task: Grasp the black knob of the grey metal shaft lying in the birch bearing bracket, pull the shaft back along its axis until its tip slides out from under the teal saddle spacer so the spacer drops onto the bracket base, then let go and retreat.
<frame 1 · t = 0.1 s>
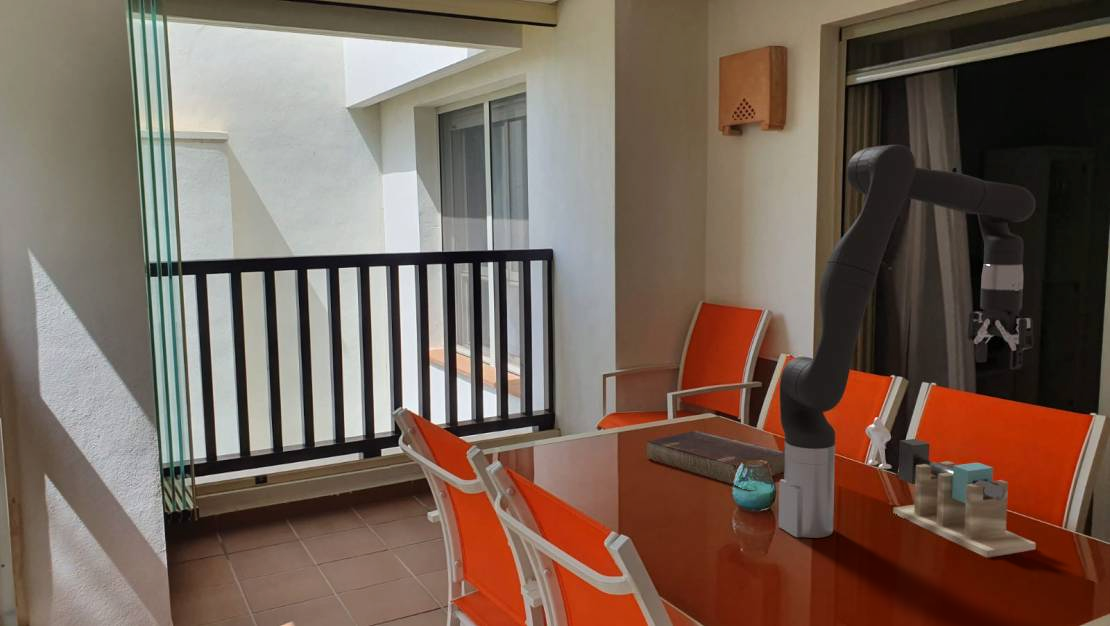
hand: (997, 365, 175), 29 cm above the table, fingers open, 8 cm apart
hardback book: (716, 466, 208), on the table
spacer: (971, 498, 160), point 7 cm above the table, touching shaft
figurine: (877, 467, 205), on the table
shaft: (950, 475, 165), point 10 cm above the table, slide at 0.0 cm, touching spacer
bracket: (960, 530, 163), on the table
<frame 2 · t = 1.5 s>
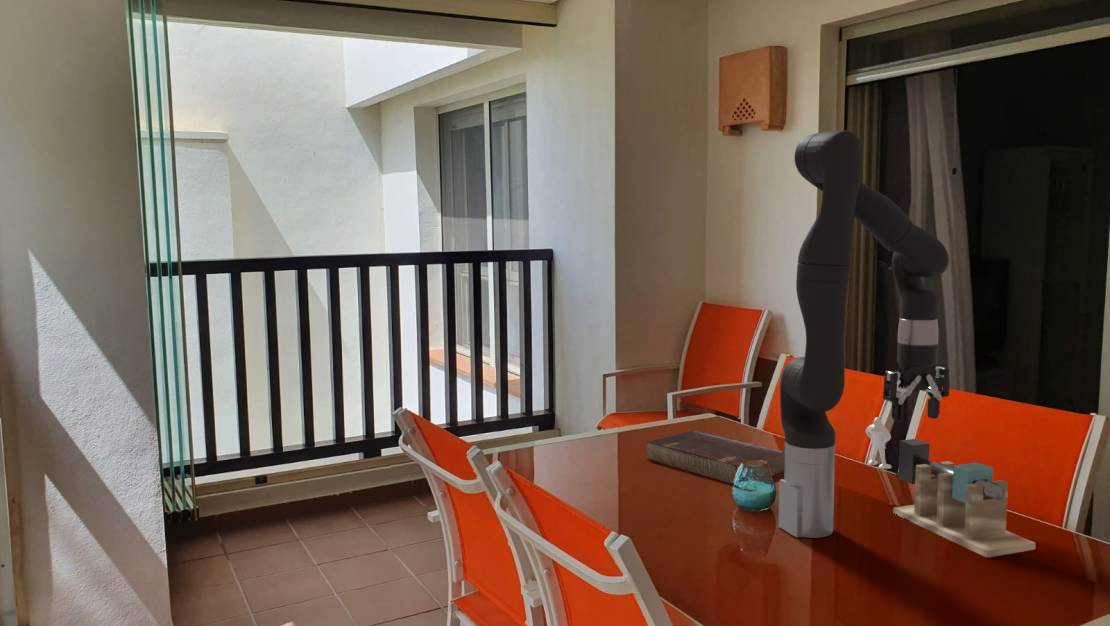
hand: (915, 419, 173), 19 cm above the table, fingers open, 8 cm apart
nothing on the table moved.
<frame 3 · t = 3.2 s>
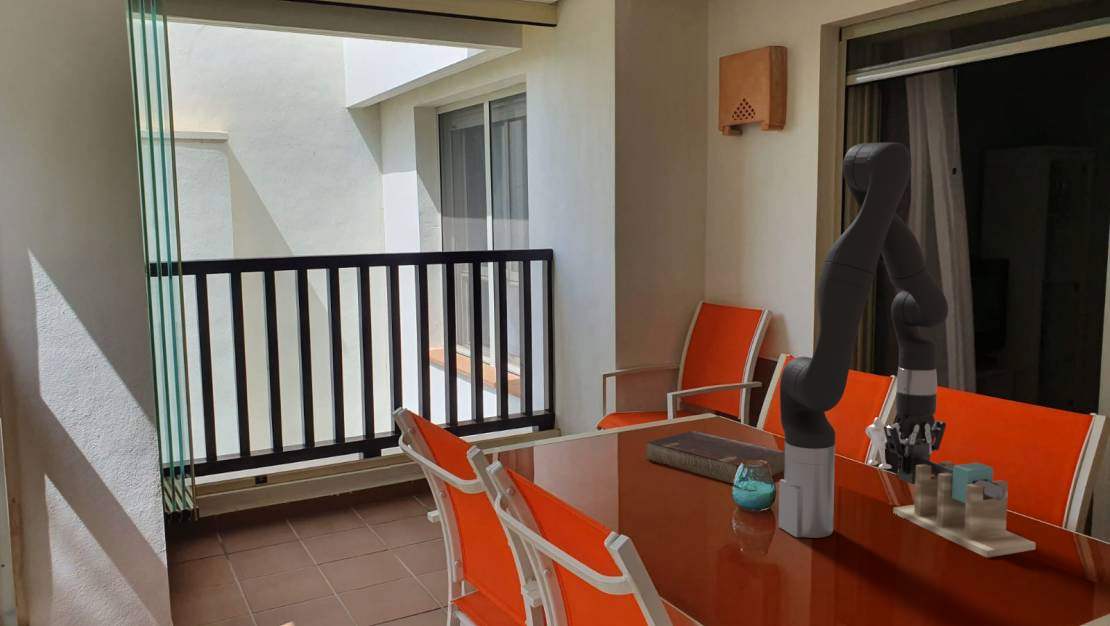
hand: (913, 471, 174), 8 cm above the table, fingers closed on shaft, 4 cm apart
shaft: (950, 475, 165), point 10 cm above the table, slide at 0.0 cm, touching gripper, spacer
everything else where it was.
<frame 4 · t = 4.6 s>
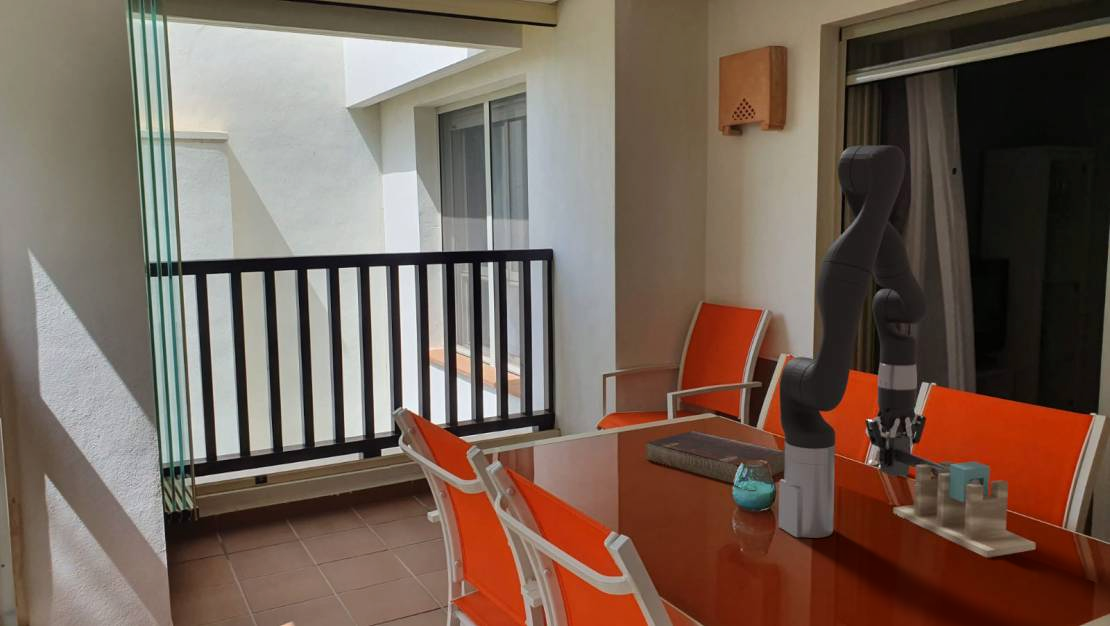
hand: (894, 464, 180), 8 cm above the table, fingers closed on shaft, 4 cm apart
shaft: (929, 467, 170), point 10 cm above the table, slide at 5.6 cm, touching gripper, spacer
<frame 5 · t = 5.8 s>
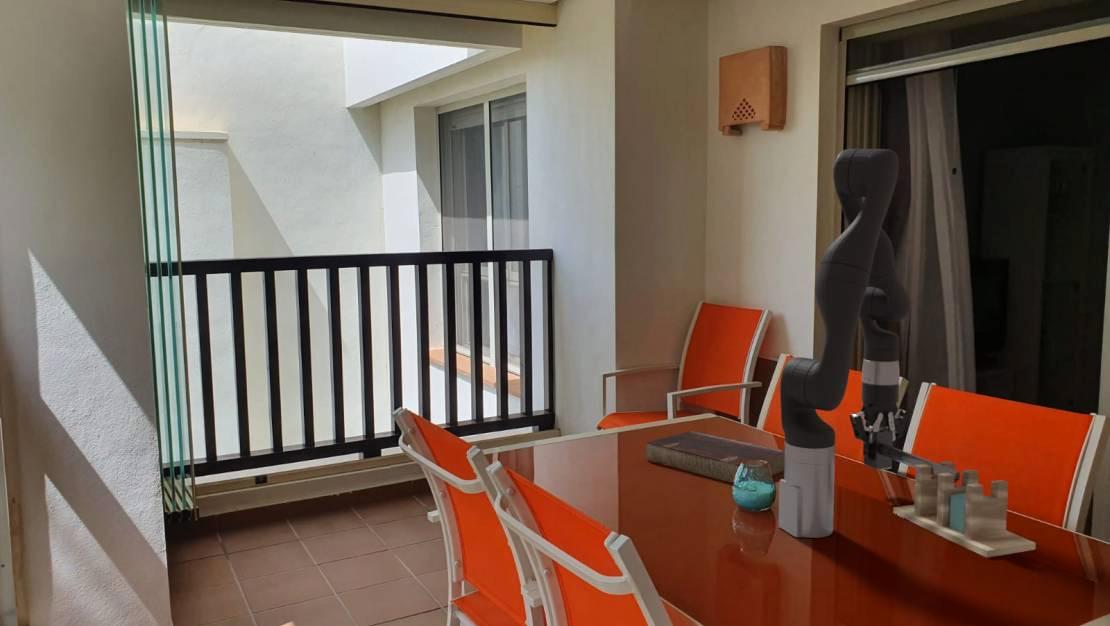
hand: (878, 457, 185), 8 cm above the table, fingers closed on shaft, 4 cm apart
spacer: (969, 528, 161), point 1 cm above the table, touching bracket
shaft: (910, 460, 175), point 10 cm above the table, slide at 10.8 cm, touching gripper
everything else where it was.
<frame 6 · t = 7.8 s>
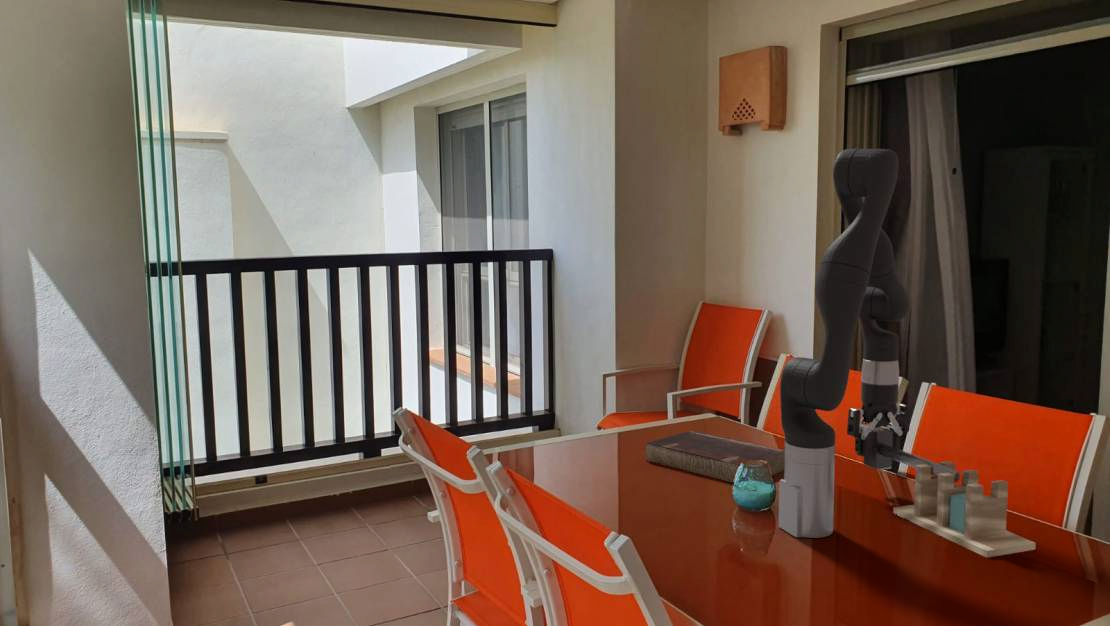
hand: (877, 453, 185), 9 cm above the table, fingers open, 8 cm apart
shaft: (910, 460, 175), point 10 cm above the table, slide at 10.9 cm
everything else where it was.
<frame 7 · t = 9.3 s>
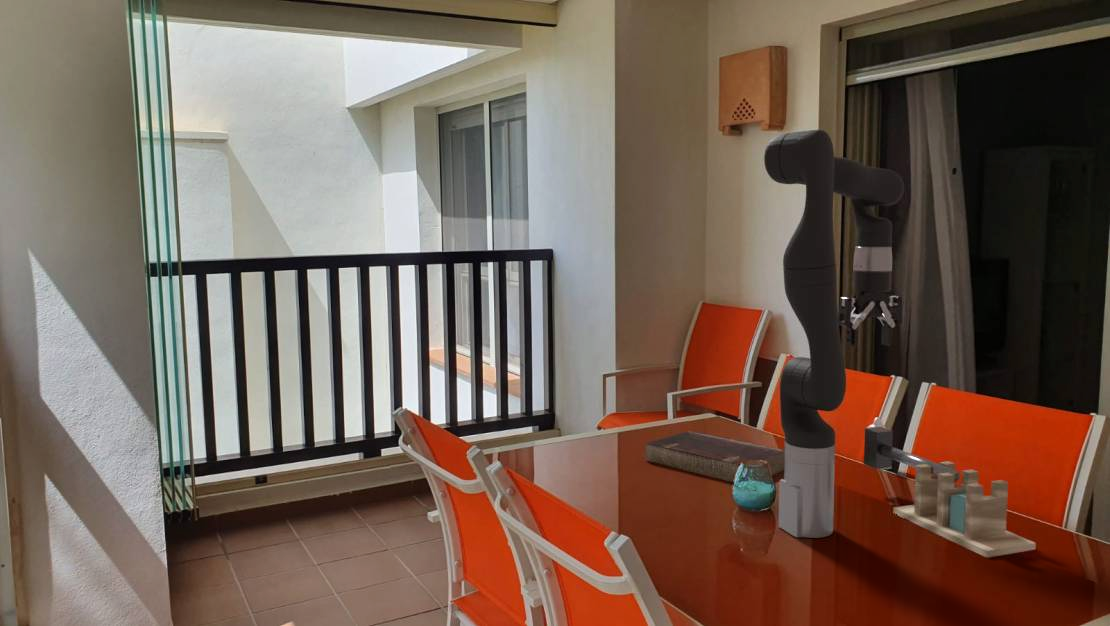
hand: (869, 345, 179), 33 cm above the table, fingers open, 8 cm apart
nothing on the table moved.
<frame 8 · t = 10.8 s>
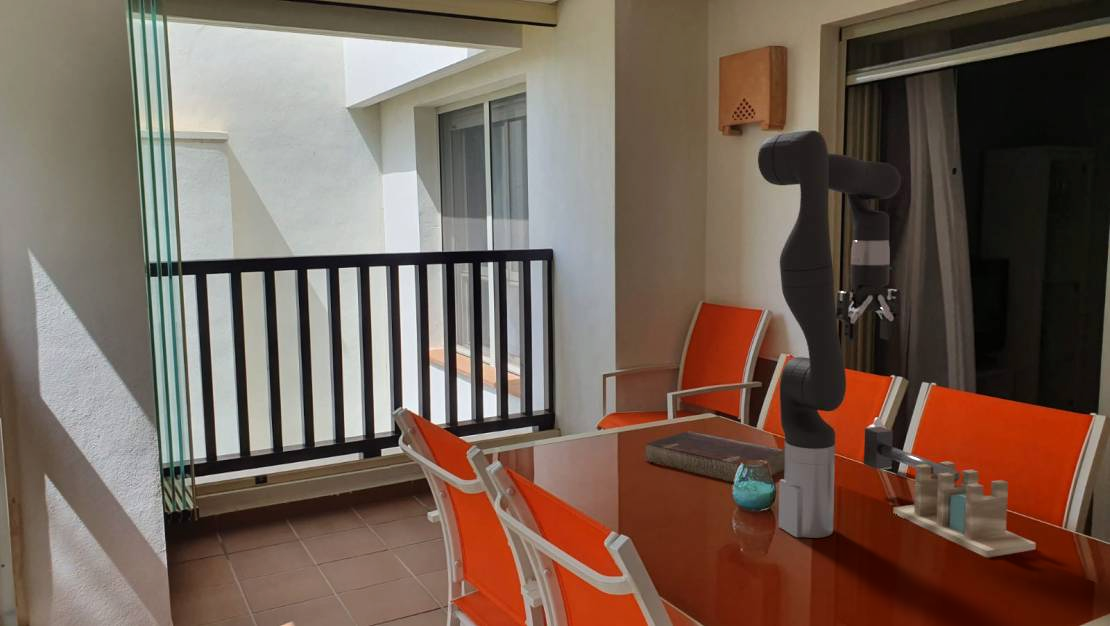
hand: (867, 339, 178), 34 cm above the table, fingers open, 8 cm apart
at the end: spacer inside the target area on the bracket (0.8 cm from its centre), point 1.2 cm above the bracket's base; shaft slide at 10.9 cm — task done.
